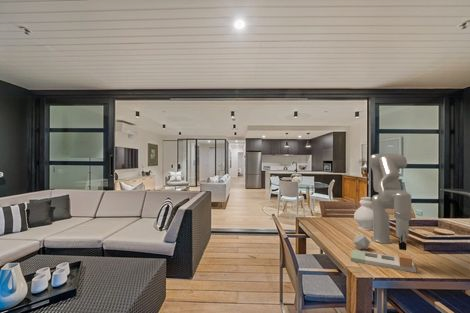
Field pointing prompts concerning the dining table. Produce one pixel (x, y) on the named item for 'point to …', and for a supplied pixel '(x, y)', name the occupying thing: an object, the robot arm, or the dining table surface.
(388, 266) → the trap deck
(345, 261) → the dining table surface
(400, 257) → the block
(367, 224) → the decorative vase
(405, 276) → the dining table surface
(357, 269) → the dining table surface
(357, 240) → the die
